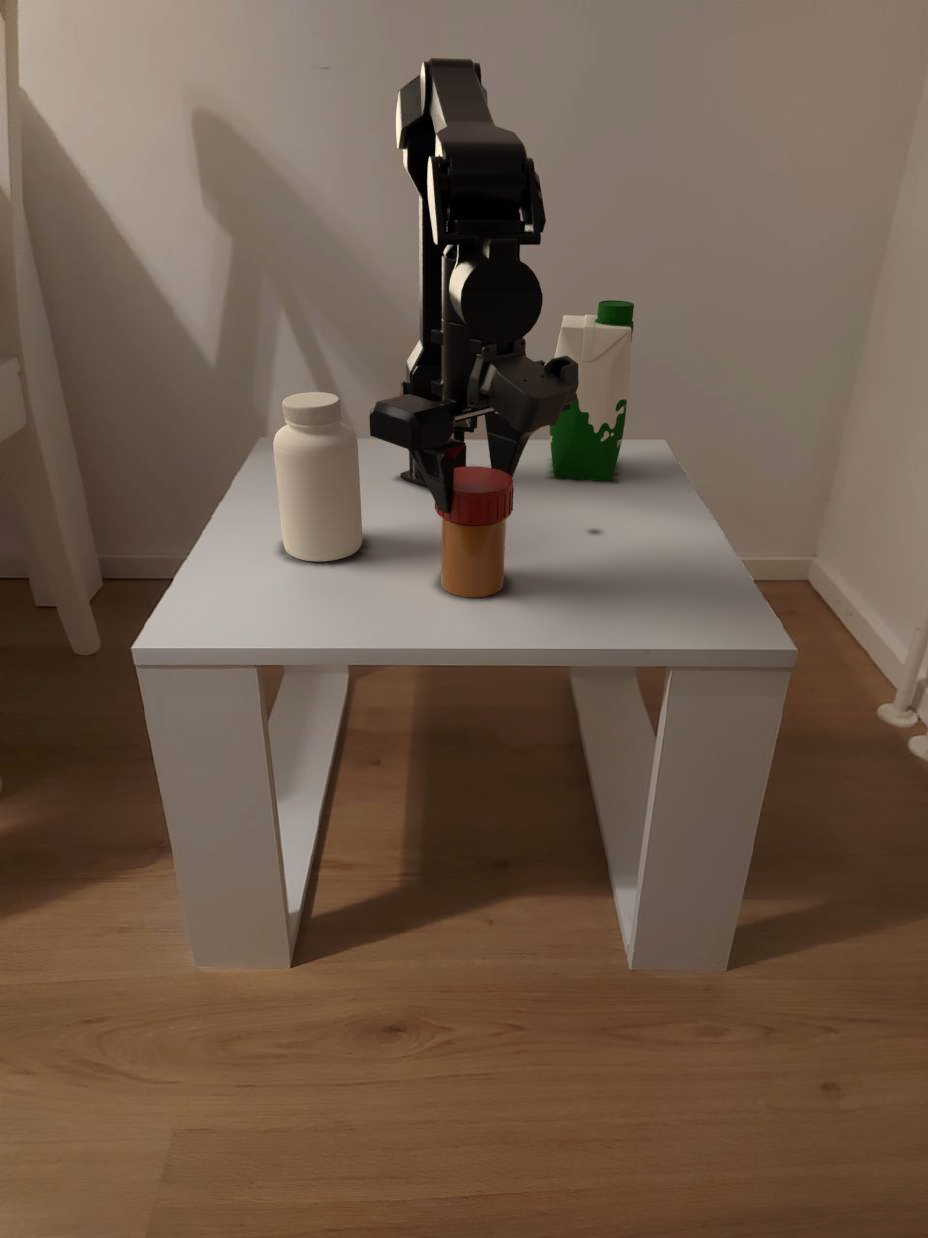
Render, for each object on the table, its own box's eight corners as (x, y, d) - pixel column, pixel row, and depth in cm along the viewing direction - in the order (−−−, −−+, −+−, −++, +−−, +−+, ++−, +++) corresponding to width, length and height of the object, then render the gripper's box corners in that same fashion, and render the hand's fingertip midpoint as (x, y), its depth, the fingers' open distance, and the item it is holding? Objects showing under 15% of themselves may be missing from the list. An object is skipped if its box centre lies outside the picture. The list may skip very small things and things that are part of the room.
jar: (428, 583, 81) (427, 485, 76) (469, 564, 84) (471, 469, 80) (474, 604, 77) (477, 502, 73) (516, 583, 81) (520, 485, 76)
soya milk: (619, 484, 104) (638, 310, 95) (544, 479, 105) (555, 307, 96) (618, 461, 112) (636, 297, 102) (548, 456, 113) (559, 294, 103)
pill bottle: (267, 556, 85) (251, 404, 78) (307, 526, 92) (296, 384, 85) (340, 569, 83) (330, 414, 76) (376, 537, 90) (370, 392, 82)
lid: (473, 531, 73) (474, 499, 72) (419, 508, 77) (418, 477, 76) (528, 511, 77) (530, 480, 76) (474, 490, 82) (474, 460, 80)
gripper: (464, 351, 59) (461, 561, 66) (629, 319, 70) (610, 501, 78) (361, 327, 66) (369, 519, 73) (527, 301, 77) (519, 470, 85)
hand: (473, 502), depth 77 cm, fingers closed on lid, 7 cm apart
